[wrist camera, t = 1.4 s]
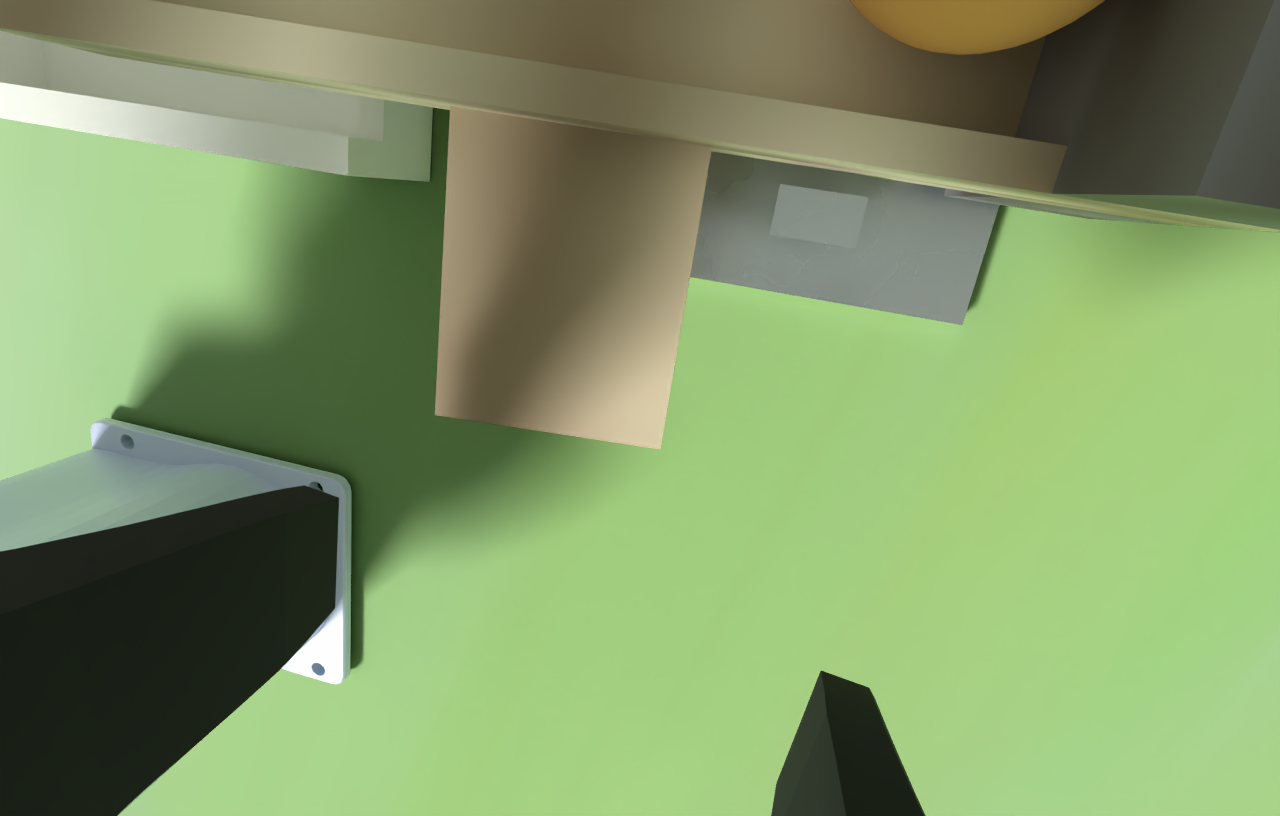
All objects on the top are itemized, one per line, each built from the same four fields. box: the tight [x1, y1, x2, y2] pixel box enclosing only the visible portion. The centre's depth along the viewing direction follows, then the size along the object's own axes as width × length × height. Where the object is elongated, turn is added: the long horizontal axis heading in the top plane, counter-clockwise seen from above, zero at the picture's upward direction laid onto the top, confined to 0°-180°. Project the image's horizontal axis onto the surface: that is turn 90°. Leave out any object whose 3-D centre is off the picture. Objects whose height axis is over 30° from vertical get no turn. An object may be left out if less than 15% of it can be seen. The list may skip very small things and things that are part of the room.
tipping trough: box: [0, 0, 1280, 449], centre depth 9 cm, size 18×12×7 cm, turn 81°
